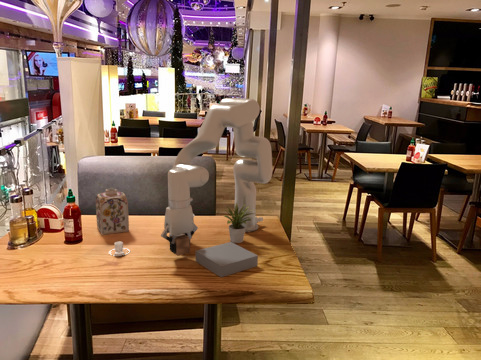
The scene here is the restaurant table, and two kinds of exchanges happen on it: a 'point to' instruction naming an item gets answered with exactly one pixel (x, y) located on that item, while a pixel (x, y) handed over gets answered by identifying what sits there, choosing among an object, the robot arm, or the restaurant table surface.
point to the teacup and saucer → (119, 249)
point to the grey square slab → (226, 259)
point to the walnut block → (182, 244)
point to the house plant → (237, 223)
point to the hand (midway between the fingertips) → (180, 250)
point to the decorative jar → (112, 212)
